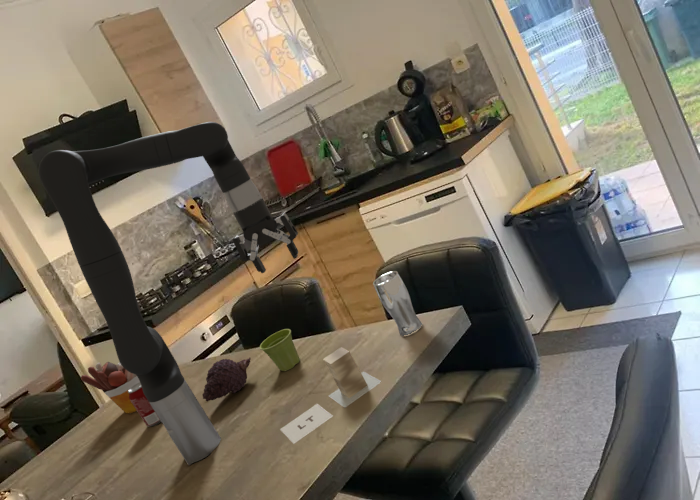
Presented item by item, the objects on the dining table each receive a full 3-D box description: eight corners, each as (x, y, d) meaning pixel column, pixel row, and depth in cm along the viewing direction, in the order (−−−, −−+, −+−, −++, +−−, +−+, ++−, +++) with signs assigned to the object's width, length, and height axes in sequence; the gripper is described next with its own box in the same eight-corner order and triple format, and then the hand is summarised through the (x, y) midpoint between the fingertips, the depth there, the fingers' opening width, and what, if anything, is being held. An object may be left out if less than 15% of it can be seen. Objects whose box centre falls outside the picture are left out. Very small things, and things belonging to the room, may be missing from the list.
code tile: (294, 445, 137) (293, 443, 137) (280, 430, 147) (279, 429, 147) (334, 417, 140) (333, 415, 140) (318, 404, 150) (317, 403, 150)
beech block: (349, 398, 145) (330, 364, 142) (341, 392, 149) (322, 359, 147) (367, 385, 146) (349, 351, 144) (359, 379, 151) (341, 346, 149)
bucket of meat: (144, 389, 223) (113, 340, 218) (177, 381, 214) (145, 330, 210) (103, 427, 207) (68, 375, 202) (136, 420, 198) (101, 365, 193)
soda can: (163, 423, 185) (140, 388, 182) (143, 431, 187) (121, 396, 184) (172, 410, 192) (151, 376, 189) (154, 417, 193) (132, 383, 191)
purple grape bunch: (222, 413, 172) (203, 382, 169) (201, 413, 178) (182, 383, 176) (266, 372, 184) (249, 342, 181) (245, 374, 191) (228, 345, 188)
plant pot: (304, 365, 175) (289, 338, 173) (273, 380, 176) (257, 353, 174) (306, 350, 184) (291, 324, 182) (276, 365, 185) (261, 339, 183)
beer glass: (423, 318, 166) (398, 267, 163) (425, 330, 160) (398, 276, 156) (398, 329, 168) (372, 279, 164) (398, 341, 161) (371, 288, 157)
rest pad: (345, 409, 141) (344, 407, 141) (328, 397, 151) (328, 395, 151) (382, 383, 144) (382, 381, 144) (364, 372, 154) (363, 371, 154)
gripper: (215, 220, 149) (250, 282, 153) (270, 193, 146) (304, 257, 150) (224, 212, 156) (256, 271, 160) (276, 186, 153) (309, 247, 157)
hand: (280, 264), depth 155 cm, fingers open, 8 cm apart
